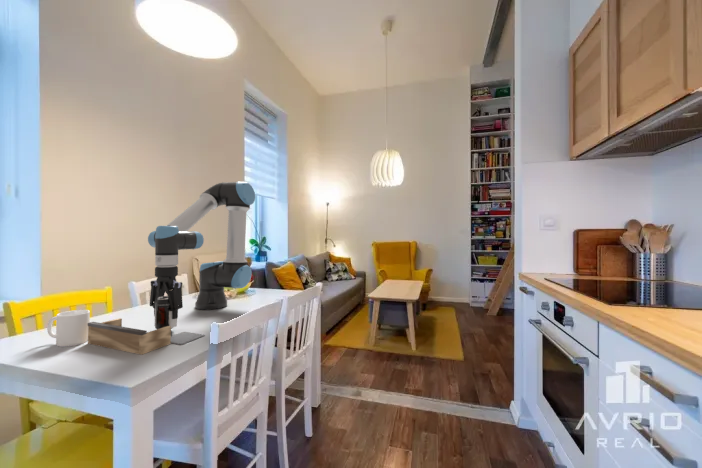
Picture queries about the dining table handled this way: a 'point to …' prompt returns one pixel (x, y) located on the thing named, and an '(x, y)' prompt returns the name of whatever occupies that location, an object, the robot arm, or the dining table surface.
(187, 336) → the mat
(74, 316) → the cup
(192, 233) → the robot arm
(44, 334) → the dining table surface
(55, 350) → the dining table surface
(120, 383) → the dining table surface
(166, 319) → the beverage can
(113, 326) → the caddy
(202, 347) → the dining table surface
